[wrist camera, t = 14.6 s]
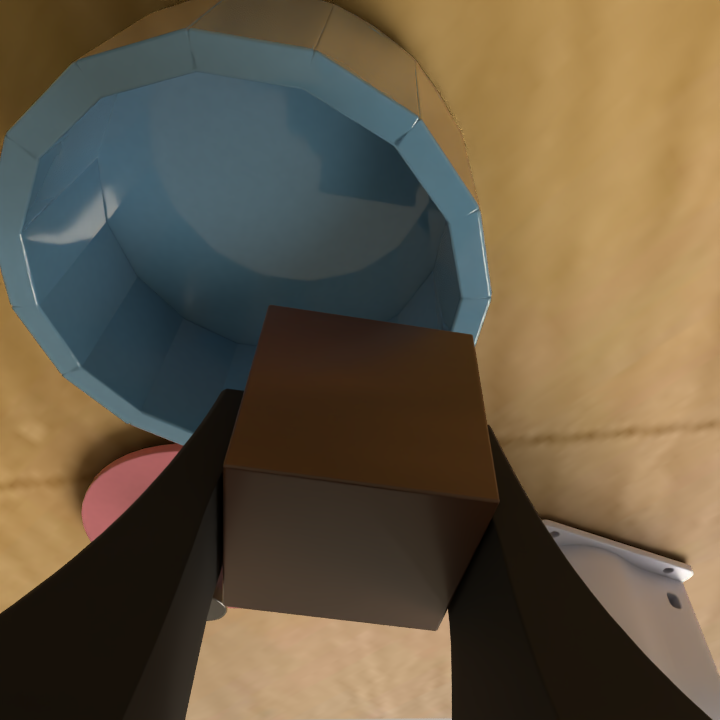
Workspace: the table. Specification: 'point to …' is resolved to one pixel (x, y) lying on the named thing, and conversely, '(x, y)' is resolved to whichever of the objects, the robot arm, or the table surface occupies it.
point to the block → (356, 471)
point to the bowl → (231, 200)
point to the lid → (132, 498)
